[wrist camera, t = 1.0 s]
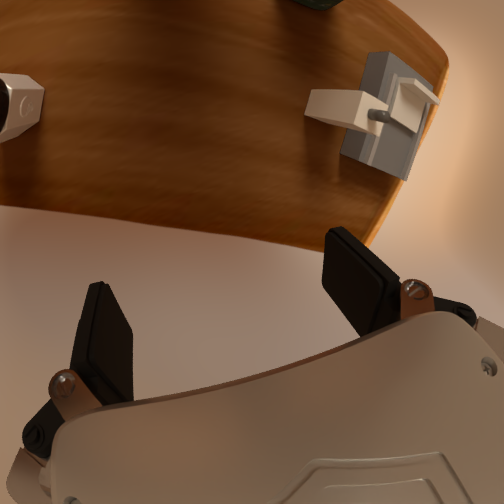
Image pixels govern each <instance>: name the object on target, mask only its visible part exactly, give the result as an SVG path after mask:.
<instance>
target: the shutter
mask: <svg viewBox="0 0 504 504" xmlns="http://www.w3.org/2000/svg"><path fill="white" fill-rule="evenodd" d="M425 102H426V103H431V104H436V105H439V102H440V100H439V99H438V98H437V97H436V96H435V95H434V94H433V93H432V92H431V91H430V90H428V89H427V88H426V87H425V86H424V85H423V84H421V83H420V82H419V81H418V80H417V79H415V78H403V77H397V81H396V85H395V88H394V92H393V96H392V100H391V103H390V107H389V110H388V112H389V113H390V117H391V118H392V119H393V120H395V121H397V122H398V123H400V124H401V125H403V126H405V127H406V128H408V129H409V130H411V131H412V132H414V133H417V131H418V128H419V124H420V121H421V117H422V113H423V109H424V106H425Z"/></svg>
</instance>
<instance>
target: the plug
mask: <svg viewBox="0 0 504 504" xmlns="http://www.w3.org/2000/svg"><path fill="white" fill-rule="evenodd" d="M387 109H388V105H387V104H385V103H383V102H382V101H380V100H378V99H377V98H375V97H373V96H372V95H370V94H368V93H366V92H364V91H358V90H335V89H312V90H311V93H310V96H309V100H308V103H307V106H306V110H305V113H304V115H306V116H309V117H312V118H314V119H317V120H320V121H322V122H325V123H328V124H332V125H337V126H341V127H345V128H349V129H353V130H357V131H361V132H364V133H368V134H372V135H375V136H378V137H379V136H380V133H381V130H382V126H383V123H388V122H389V121H390V118H391V117H390V113H389V112H388V111H387Z"/></svg>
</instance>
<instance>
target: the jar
mask: <svg viewBox="0 0 504 504" xmlns="http://www.w3.org/2000/svg"><path fill="white" fill-rule="evenodd" d="M44 91H45V89H44V88H43V87H42V86H40V85H39V84H38V83H36V82H35V81H34V80H32V79H31V78H30V77H29V76H27V75H18V74H3V73H0V143H2V142H4V141H7V140H10V139H12V138H15V137H18V136H19V135H20V134H21V133H23V132H24V131H26V130H27V129H28V128H30V127H31V126H33V125H34V124H35V123H37V122H38V121H39V119H40V113H41V106H42V101H43V96H44Z"/></svg>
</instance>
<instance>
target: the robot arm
mask: <svg viewBox="0 0 504 504" xmlns="http://www.w3.org/2000/svg"><path fill="white" fill-rule="evenodd" d="M399 279H400V277H399V276H398V275H397V274H396V273H395V272H393V271H392V270H391V269H390V268H389V267H388V266H387V265H386V264H385V263H384V262H383V261H382V260H380V259H379V258H378V257H377V256H376V255H375V254H374V253H373V252H371V251H370V250H369V249H368V248H367V247H366V246H365V245H364V244H362V243H361V242H360V241H359V240H358V239H357V238H356V237H354V236H353V235H352V234H351V233H350V232H349V231H347V230H346V229H345V228H344V227H342V226H340V227H335V228H331V229H329V231H328V233H326V235H325V248H324V261H323V273H322V285H323V288H324V289H325V291H326V292H327V293H328V294H329V296H330V297H331V298H332V300H333V301H334V302H335V304H336V305H337V306H338V308H339V309H340V310H341V312H342V313H343V314H344V316H345V317H346V318H347V320H348V321H349V322H350V324H351V325H352V326H353V328H354V329H355V330H356V332H357V333H358V334H359V336H360V338H358V339H355V340H353V341H350V342H348V343H345V344H343V345H341V346H338V347H335V348H333V349H330V350H328V351H325V352H322V353H320V354H317V355H314V356H311V357H308V358H306V359H303V360H300V361H297V362H294V363H291V364H288V365H285V366H282V367H279V368H276V369H272V370H269V371H266V372H262V373H259V374H256V375H252V376H248V377H245V378H241V379H237V380H234V381H230V382H226V383H222V384H218V385H214V386H209V387H205V388H200V389H196V390H192V391H187V392H181V393H177V394H171V395H165V396H160V397H154V398H148V399H142V400H136V401H134V396H133V333H132V329H131V327H130V326H129V324H128V322H127V320H126V318H125V316H124V314H123V312H122V310H121V309H120V306H119V304H118V302H117V300H116V298H115V297H114V294H113V292H112V290H111V288H110V286H109V284H105V283H104V282H103V281H100V282H96V283H92V284H90V285H89V288H88V292H87V295H86V299H85V303H84V307H83V310H82V314H81V319H80V320H79V323H78V327H77V332H76V336H75V341H74V346H73V351H72V357H71V362H70V368H69V369H64V370H61V371H59V372H57V373H56V374H55V375H54V376H53V377H52V379H51V381H50V383H49V387H48V390H49V395H50V397H51V399H50V400H49V401H48V402H47V403H46V404H45V405H44V406H43V407H42V408H41V409H40V410H39V411H38V413H37V414H36V415H35V416H34V417H33V418H32V419H31V420H30V421H29V422H28V423H27V424H26V426H25V427H24V430H23V433H22V440H23V444H24V448H23V449H22V448H20V449H19V451H18V454H17V456H16V458H15V461H14V463H13V465H12V467H11V470H10V472H9V475H8V477H7V481H6V485H7V490H8V493H9V494H10V496H11V497H12V498H13V499H14V500H15V501H16V502H17V503H18V504H504V329H503V328H502V327H500V326H498V325H496V324H494V323H492V322H490V321H488V320H486V319H484V318H482V317H480V316H479V318H478V319H477V317H476V314H475V312H474V310H473V309H472V308H471V307H469V306H468V305H466V304H463V303H460V302H455V301H451V300H447V299H443V298H438V297H434V296H433V293H432V290H431V288H430V287H429V286H428V285H427V284H426V283H424V282H422V281H420V280H417V279H408V280H406V281H404V282H403V283H402V284H401V283H400V282H399Z"/></svg>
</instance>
